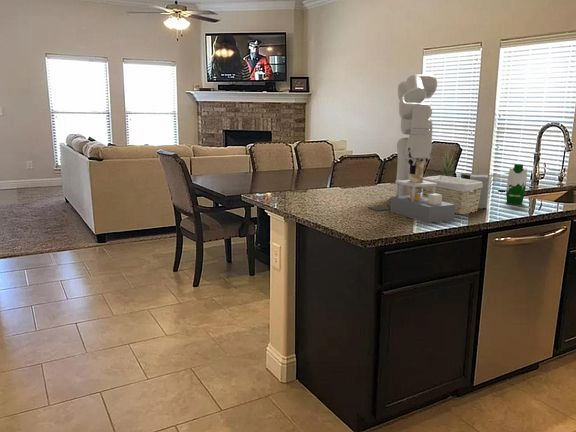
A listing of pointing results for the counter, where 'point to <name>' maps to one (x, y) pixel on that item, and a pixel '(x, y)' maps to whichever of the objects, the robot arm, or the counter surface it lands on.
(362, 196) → the counter surface
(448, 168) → the potted plant
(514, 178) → the milk carton
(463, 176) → the supplement container
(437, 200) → the on button
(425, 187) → the storage basket
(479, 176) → the skincare box
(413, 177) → the wooden rectangular block
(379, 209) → the pad
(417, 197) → the plunger
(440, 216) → the grey housing
